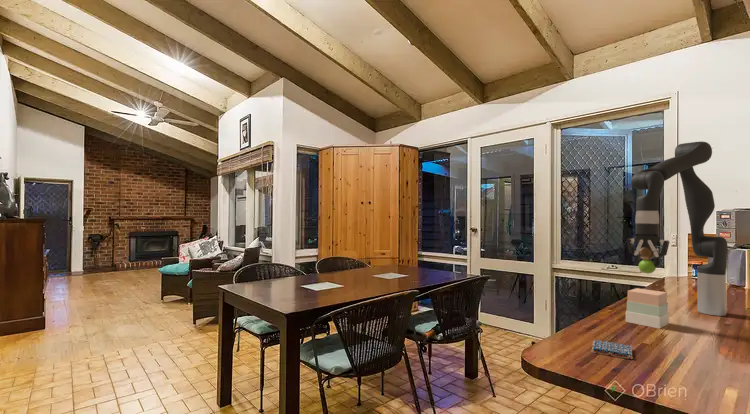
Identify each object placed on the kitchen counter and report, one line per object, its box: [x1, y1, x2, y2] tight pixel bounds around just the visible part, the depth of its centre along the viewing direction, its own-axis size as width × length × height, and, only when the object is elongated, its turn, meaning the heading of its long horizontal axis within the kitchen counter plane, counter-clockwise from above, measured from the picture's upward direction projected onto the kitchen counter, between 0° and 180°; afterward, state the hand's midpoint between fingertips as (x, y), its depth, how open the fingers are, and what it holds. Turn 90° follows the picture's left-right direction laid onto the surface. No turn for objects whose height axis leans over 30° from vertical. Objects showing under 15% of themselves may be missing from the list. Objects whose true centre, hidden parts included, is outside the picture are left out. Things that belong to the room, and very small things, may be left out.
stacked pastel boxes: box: [625, 287, 670, 329], centre depth 147 cm, size 11×11×12 cm
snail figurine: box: [638, 247, 657, 275], centre depth 147 cm, size 5×6×12 cm
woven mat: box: [591, 338, 634, 360], centre depth 114 cm, size 10×11×2 cm
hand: (647, 265), depth 147 cm, fingers closed on snail figurine, 5 cm apart
